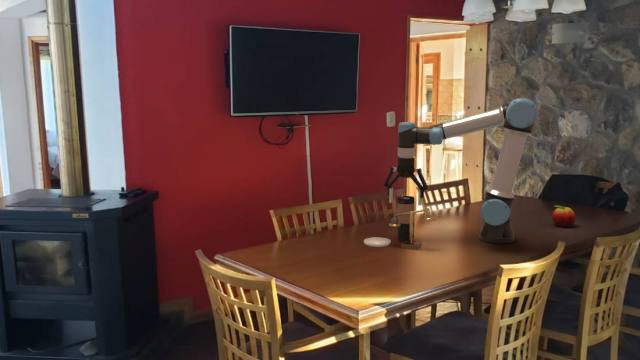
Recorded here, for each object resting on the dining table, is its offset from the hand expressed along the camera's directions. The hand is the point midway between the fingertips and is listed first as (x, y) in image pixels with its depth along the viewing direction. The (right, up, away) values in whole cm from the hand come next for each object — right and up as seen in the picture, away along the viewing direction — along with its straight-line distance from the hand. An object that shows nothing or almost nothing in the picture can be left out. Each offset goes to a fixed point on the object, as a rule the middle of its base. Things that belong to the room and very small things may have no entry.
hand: (405, 203), depth 256 cm
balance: (+1, -19, -9) cm, 21 cm away
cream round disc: (-13, -18, -2) cm, 22 cm away
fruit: (+82, -12, +24) cm, 86 cm away
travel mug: (+1, -17, +3) cm, 17 cm away
